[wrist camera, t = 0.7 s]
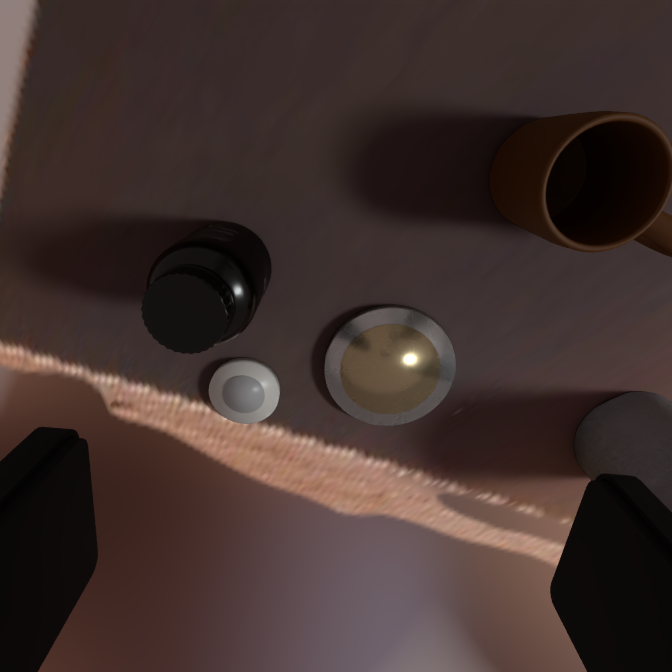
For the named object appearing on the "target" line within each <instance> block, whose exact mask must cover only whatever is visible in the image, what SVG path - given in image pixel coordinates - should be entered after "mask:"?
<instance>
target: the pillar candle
mask: <svg viewBox="0 0 672 672" xmlns="http://www.w3.org/2000/svg"><path fill="white" fill-rule="evenodd" d="M574 451H575V455H576V460H577V462H578V464H579V465H580V467H581V468H582V470H583V471H584V472H585V473H586V474H587V476H588V477H589V478H590V479H591V481H593V480H595V479H596V477H597V476H598V475H600V474H603V473H607V474H619V475H631V476H635V477H637V478H638V479H639V480H641V481H642V482H643V483H644V484H645V485H646V486H647V487H648V488H649V489H650V490H651V492H652V493H653V494H654V495H655V496H656V497H657V498H658V499H659V500H660V501H661V502H662V503H663V504H664V505H665V506H666V507H667V508H668V509H669V510H670V511H671V512H672V402H670V401H669V400H667V399H665V398H664V397H662V396H660V395H657V394H653V393H650V392H638V391H635V392H629V393H626V394H623V395H621V396H618V397H616V398H613V399H611V400H609V401H607V402H605V403H603V404H601V405H599V406H597V407H596V408H594V409H593V410H592V411H591V412H590V413H588V415H587V416H586V417H585V418H584V419H583V421H582V422H581V424H580V426H579V427H578V429H577V432H576V434H575V440H574Z"/></svg>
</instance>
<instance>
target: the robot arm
mask: <svg viewBox="0 0 672 672" xmlns="http://www.w3.org/2000/svg"><path fill="white" fill-rule="evenodd" d="M97 558H98V548H97V537H96V527H95V516H94V505H93V495H92V483H91V472H90V462H89V451H88V444H87V441H86V440H85V439H82V438H79V435H78V433H77V431H75V430H73V429H62V428H50V427H39V428H37V429H35V430H34V431H33V432H32V433H31V434H30V435H28V436H27V438H25V439H24V440H23V441H22V442H21V443H20V444H19V445H18V446H17V447H16V448H14V449H13V450H12V451H11V452H10V453H9V454H8V455H7V456H6V457H5V458H4V459H3V460H1V461H0V672H38V670H39V669H40V667H41V665H42V663H43V661H44V660H45V658H46V656H47V654H48V653H49V651H50V649H51V647H52V645H53V644H54V642H55V640H56V638H57V637H58V635H59V633H60V631H61V629H62V628H63V626H64V624H65V622H66V620H67V619H68V617H69V615H70V613H71V612H72V610H73V608H74V606H75V605H76V603H77V601H78V599H79V598H80V596H81V594H82V592H83V591H84V589H85V587H86V585H87V584H88V582H89V580H90V578H91V576H92V574H93V572H94V570H95V566H96V563H97ZM550 593H551V599H552V603H553V605H554V607H555V609H556V611H557V613H558V615H559V617H560V619H561V621H562V623H563V625H564V627H565V629H566V631H567V633H568V635H569V637H570V639H571V641H572V643H573V645H574V647H575V649H576V651H577V653H578V654H579V657H580V658H581V660H582V662H583V664H584V666H585V668H586V670H587V672H672V512H671V511H670V510H669V509H668V508H667V507H666V506H665V505H664V504H663V503H662V502H661V501H660V500H659V499H658V498H657V497H656V496H655V495H654V494H653V493H652V492H651V490H650V489H649V488H648V487H647V486H646V485H645V484H644V483H643V482H642V481H641V480H639V479H638V478H637V477H635V476H631V475H619V474H607V473H603V474H600V475H598V476H597V477H596V479H595V480H593V481H590V482H589V483H588V485H587V487H586V490H585V492H584V495H583V498H582V500H581V503H580V506H579V509H578V511H577V514H576V517H575V520H574V522H573V525H572V528H571V530H570V533H569V536H568V539H567V541H566V544H565V547H564V550H563V552H562V555H561V558H560V560H559V563H558V566H557V569H556V571H555V574H554V577H553V580H552V582H551V587H550Z"/></svg>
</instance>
